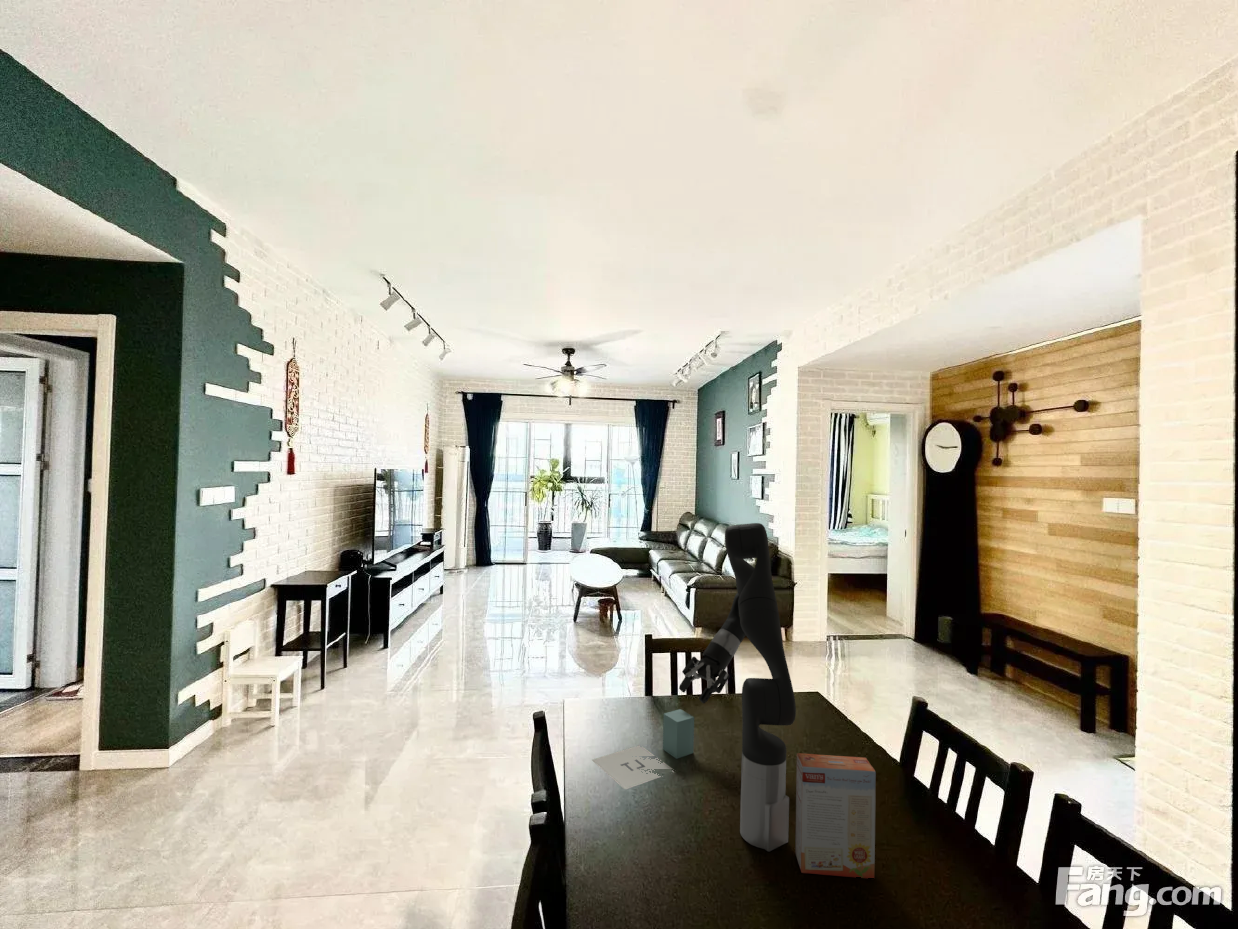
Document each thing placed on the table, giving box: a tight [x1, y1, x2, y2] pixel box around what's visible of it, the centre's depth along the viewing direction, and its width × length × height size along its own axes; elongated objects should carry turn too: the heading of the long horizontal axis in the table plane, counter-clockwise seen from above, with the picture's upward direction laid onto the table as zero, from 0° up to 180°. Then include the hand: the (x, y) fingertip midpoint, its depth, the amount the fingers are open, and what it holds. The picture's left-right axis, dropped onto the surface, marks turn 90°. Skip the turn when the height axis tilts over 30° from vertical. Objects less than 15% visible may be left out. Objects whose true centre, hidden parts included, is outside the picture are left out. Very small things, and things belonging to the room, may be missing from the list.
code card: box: [591, 744, 675, 790], centre depth 146 cm, size 16×16×1 cm
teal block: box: [662, 708, 695, 760], centre depth 154 cm, size 6×6×10 cm
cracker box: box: [795, 752, 877, 879], centre depth 111 cm, size 14×6×21 cm, turn 84°
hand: (691, 696), depth 157 cm, fingers open, 8 cm apart
